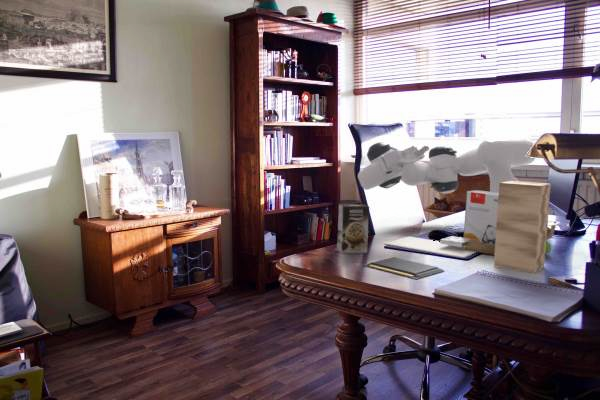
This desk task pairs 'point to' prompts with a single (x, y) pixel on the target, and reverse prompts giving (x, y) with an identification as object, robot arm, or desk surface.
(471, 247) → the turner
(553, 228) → the snail figurine
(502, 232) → the stand
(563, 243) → the desk surface
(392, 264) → the grey book
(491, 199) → the hard drive box
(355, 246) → the cookie box
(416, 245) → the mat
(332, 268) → the desk surface
